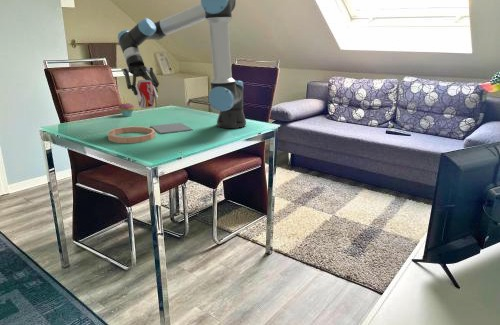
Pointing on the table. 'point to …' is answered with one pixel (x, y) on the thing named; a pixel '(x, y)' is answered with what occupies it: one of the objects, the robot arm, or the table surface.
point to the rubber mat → (170, 128)
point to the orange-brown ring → (131, 139)
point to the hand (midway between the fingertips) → (148, 99)
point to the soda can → (146, 93)
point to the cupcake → (126, 108)
